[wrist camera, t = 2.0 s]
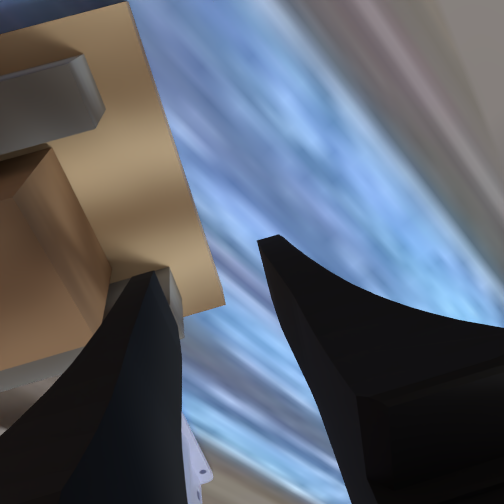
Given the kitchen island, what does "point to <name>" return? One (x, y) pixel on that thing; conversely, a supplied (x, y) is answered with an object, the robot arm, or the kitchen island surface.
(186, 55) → the kitchen island surface
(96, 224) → the chute board
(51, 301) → the walnut block
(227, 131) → the kitchen island surface
